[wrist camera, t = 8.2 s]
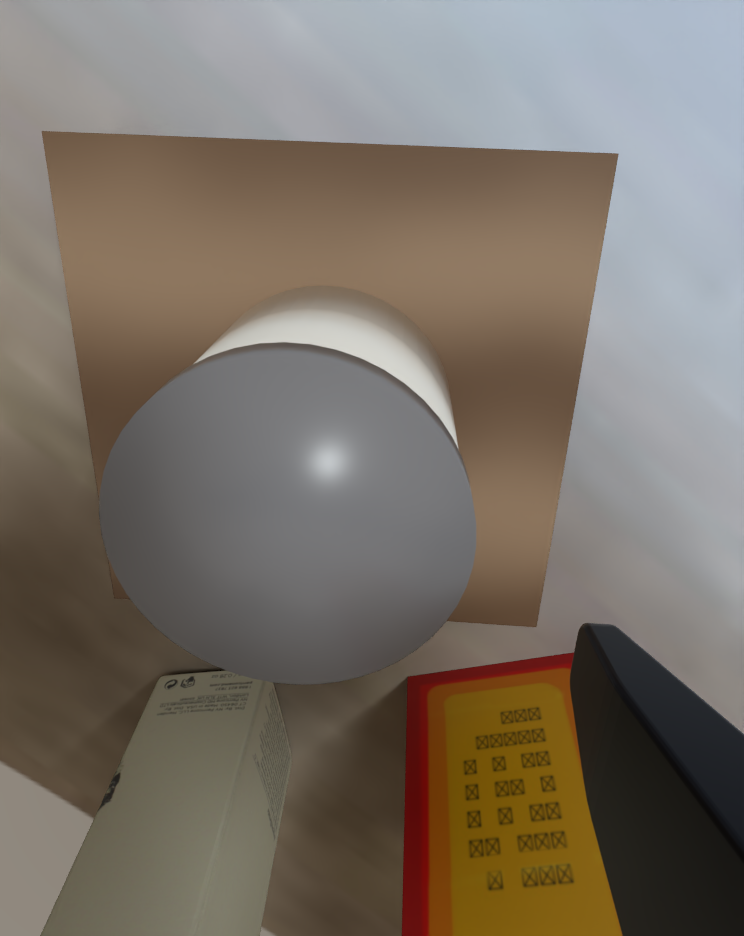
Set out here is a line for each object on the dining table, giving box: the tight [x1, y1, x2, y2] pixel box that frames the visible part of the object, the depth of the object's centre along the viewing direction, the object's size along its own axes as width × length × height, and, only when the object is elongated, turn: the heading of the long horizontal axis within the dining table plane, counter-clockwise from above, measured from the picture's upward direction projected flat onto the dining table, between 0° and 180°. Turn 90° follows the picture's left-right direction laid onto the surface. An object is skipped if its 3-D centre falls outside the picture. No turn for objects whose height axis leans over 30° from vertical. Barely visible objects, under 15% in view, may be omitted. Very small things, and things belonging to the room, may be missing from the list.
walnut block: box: [42, 131, 618, 627], centre depth 18 cm, size 12×12×4 cm
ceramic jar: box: [99, 285, 476, 685], centre depth 14 cm, size 6×6×6 cm
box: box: [40, 671, 292, 936], centre depth 20 cm, size 5×4×13 cm
